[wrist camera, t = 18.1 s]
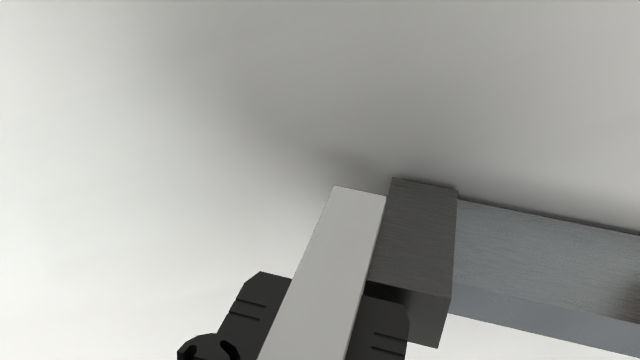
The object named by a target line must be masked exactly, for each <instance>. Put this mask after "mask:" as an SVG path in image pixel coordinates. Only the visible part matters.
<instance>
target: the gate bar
mask: <svg viewBox="0 0 640 360" xmlns="http://www.w3.org/2000/svg"><path fill="white" fill-rule="evenodd" d="M363 295H365V296H369V297H373V298H377V299H381V300H385V301H389V302H393V303H397V304H401V305H404V308H405V310H406V313H407V316H408V318H409V321H410V327H409V333H408V340H407V341H408V342H412V343H416V344H420V345H424V346H428V347H432V348H437V349H438V345H439V341H440V338H441V334H442V331H443V327H444V324H445V320H446V317H447V313H450V314H454V315H459V316H463V317H467V318H471V319H476V320H480V321H484V322H488V323H493V324H497V325H501V326H505V327H510V328H514V329H518V330H522V331H527V332H531V333H535V334H539V335H544V336H548V337H552V338H556V339H561V340H565V341H569V342H573V343H578V344H582V345H586V346H590V347H594V348H599V349H603V350H607V351H611V352H616V353H620V354H624V355H628V356H633V357H637V358H640V236H637V235H632V234H627V233H622V232H617V231H612V230H607V229H602V228H598V227H593V226H588V225H583V224H578V223H573V222H568V221H563V220H558V219H553V218H548V217H543V216H538V215H533V214H528V213H523V212H519V211H514V210H509V209H504V208H499V207H494V206H489V205H484V204H479V203H474V202H469V201H464V200H459V199H458V190H453V189H448V188H443V187H438V186H433V185H428V184H423V183H418V182H413V181H408V180H403V179H398V178H393V179H392V182H391V186H390V190H389V194H388V197H387V201H386V205H385V208H384V214H383V217H382V221H381V225H380V228H379V232H378V236H377V240H376V243H375V247H374V251H373V254H372V258H371V262H370V266H369V269H368V273H367V277H366V281H365V286H364V292H363Z"/></svg>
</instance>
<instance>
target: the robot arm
mask: <svg viewBox="0 0 640 360" xmlns="http://www.w3.org/2000/svg"><path fill="white" fill-rule="evenodd" d="M386 198H387V196H382V195H377V194H373V193H368V192H363V191H359V190H354V189H349V188H345V187H340V186H335V185H334V187H333V189H332V191H331V194H330V196H329V198H328V200H327V203H326V205H325V207H324V209H323V212H322V214H321V216H320V218H319V221H318V223H317V225H316V227H315V230H314V232H313V234H312V236H311V239H310V241H309V243H308V245H307V248H306V250H305V252H304V254H303V257H302V259H301V261H300V263H299V266H298V268H297V270H296V272H295V275H294V277H293V279H290V278H285V277H281V276H277V275H273V274H269V273H265V272H261V271H260V272H259V273H257V274H256V275H254V276H253V277H252V278H250V279H249V280H248V281H246V282H245V283H244V285H243V287H242V288H241V290H240V292H239V294H238V296H237V297H236V301H234V303H233V305H232V306H231V308H230V310H229V313H228V314H227V315H226V317H225V319H224V321H223V323H222V324H221V326H220V328H219V330H218V332H217V333H216V334H215V333H209V334H204V335H199V336H196V337H194V338H192V339H190V340H189V341H187V342H185V343H184V344H183V345H182V347H181V348H180V349H179V350H178V351H177V360H405V354H406V347H407V340H408V333H409V327H410V321H409V318H408V316H407V313H406V310H405V308H404V305H401V304H397V303H393V302H389V301H385V300H381V299H377V298H373V297H369V296H365V295H363V292H364V286H365V281H366V277H367V273H368V269H369V266H370V262H371V258H372V254H373V251H374V247H375V243H376V240H377V236H378V232H379V228H380V225H381V221H382V217H383V214H384V208H385V203H386Z"/></svg>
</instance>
